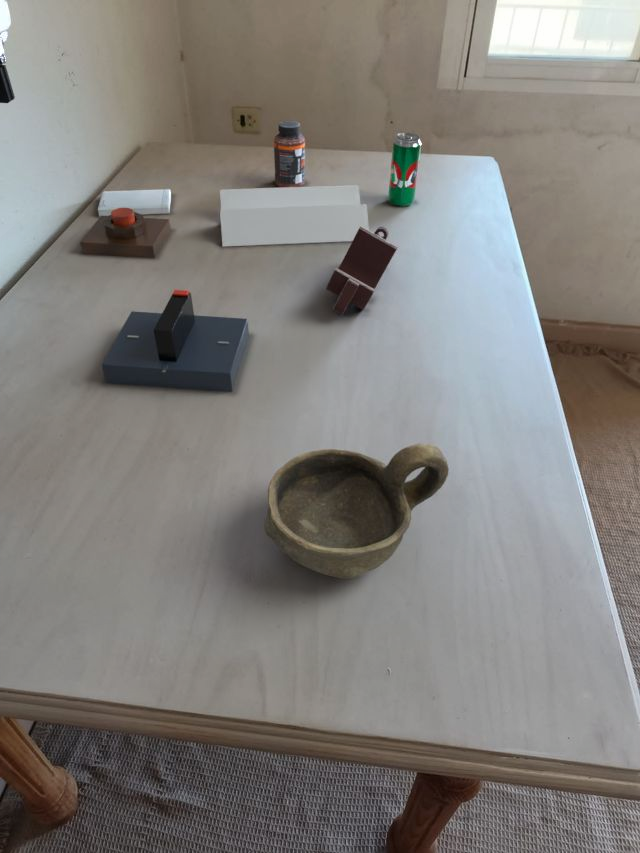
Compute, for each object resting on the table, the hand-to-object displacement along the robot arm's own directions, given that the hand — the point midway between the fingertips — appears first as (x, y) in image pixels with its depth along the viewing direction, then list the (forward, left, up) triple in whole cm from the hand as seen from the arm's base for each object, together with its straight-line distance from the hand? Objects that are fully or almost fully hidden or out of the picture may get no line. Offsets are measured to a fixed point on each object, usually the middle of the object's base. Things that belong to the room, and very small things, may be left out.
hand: (0, 100), depth 81 cm
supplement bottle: (+32, +40, -25) cm, 57 cm away
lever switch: (+25, -19, -25) cm, 40 cm away
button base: (+8, +12, -25) cm, 29 cm away
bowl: (+49, -45, -25) cm, 71 cm away
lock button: (+8, +12, -21) cm, 26 cm away
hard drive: (+5, +26, -25) cm, 37 cm away
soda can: (+54, +34, -25) cm, 69 cm away
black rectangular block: (+25, -19, -22) cm, 38 cm away
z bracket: (+35, +21, -25) cm, 48 cm away
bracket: (+48, 0, -25) cm, 54 cm away
